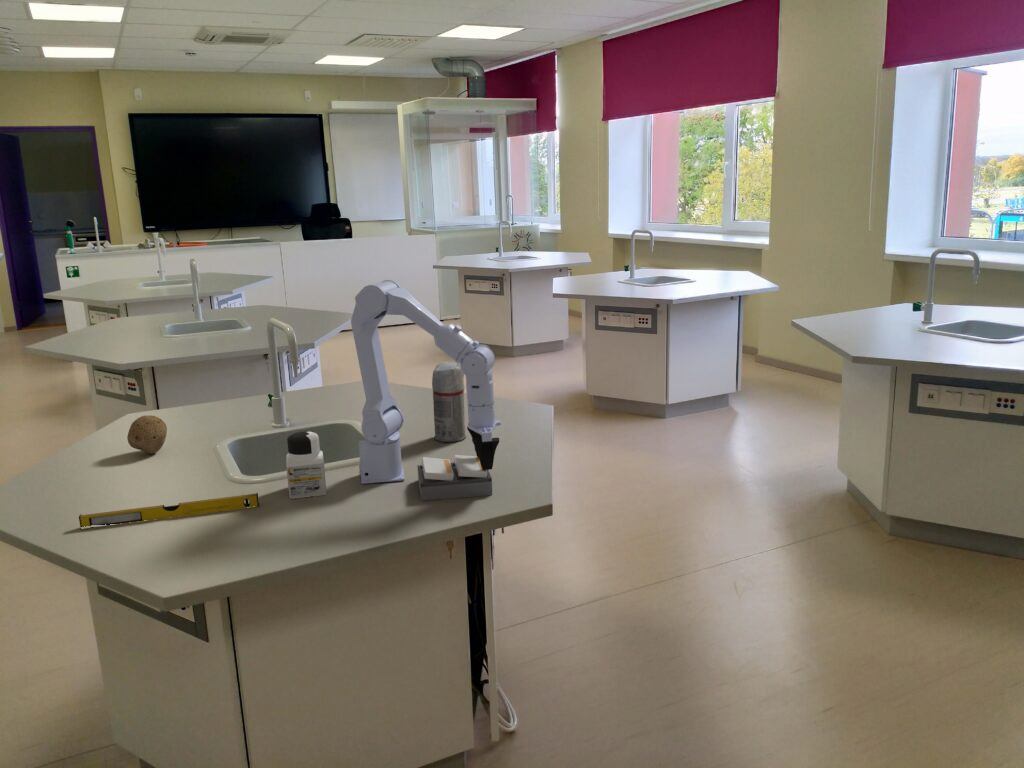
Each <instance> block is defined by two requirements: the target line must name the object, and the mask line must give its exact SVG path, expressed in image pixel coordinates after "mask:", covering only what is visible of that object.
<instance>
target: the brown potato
mask: <svg viewBox="0 0 1024 768" xmlns="http://www.w3.org/2000/svg"><path fill="white" fill-rule="evenodd" d="M167 428H168V427H167V424H166V423H165V421H164V420H163V419H162V418H160V417H159V416H156V415H151V414H150V415H149V414H147V415H142V416H140V417H137V418H136V419H135V420H133V422H132V423H131V425H130V427H129V429H128V433H127V437H126V438H127V442H128V444H129V446H130V447H131V448H133V449H136V450H139V451H142V452H144V453H146V454H148V455H153V454H156V453H158V452H159V451H160V450H161V449H162V448H163V446H164V445H165V442H166V439H167V438H166V437H167V433H168V429H167Z"/></svg>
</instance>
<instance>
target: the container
mask: <svg viewBox="0 0 1024 768" xmlns="http://www.w3.org/2000/svg"><path fill="white" fill-rule="evenodd" d="M286 442H287V451H288V453H287V454H286V457H285V458H286V459H285V460H286V461H285V462H286V466H285V468H286V477H287V486H288V487H287V488H288V497H289V499H290V500H293V499H295V498H296V499H303V498H312V497H311V496H313V497H320V496H326V495H327V493H328V492H327V484H326V483H327V481H326V472H325V471H326V469H325V461H324V452H323V451H322V450H321V448H320V447H321V446H320V437H319V435H318V433H316V432H312V431H306V430H305V431H298V432H295V433H292V434H290V435H289V436H288V437H287V439H286Z"/></svg>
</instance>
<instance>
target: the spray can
mask: <svg viewBox="0 0 1024 768" xmlns="http://www.w3.org/2000/svg"><path fill="white" fill-rule="evenodd" d="M431 377H432V378H431V379H432V380H431V385H432V387H431V388H432V398H433V399H432V401H433V423H434V440H436V441H438V442H442V443H455V442H460V441H462V440H464V439H465V438H467V435H466V424H465V423H466V422H465V420H466V417H465V412H466V411H465V382H464V377H465V374H464V373H463V372H462V370H461V367H460V364H459V363H458V362H456V361H441V362H439V363H438V364H437V365H436V366H435V368H434V370H433V371H432V376H431Z"/></svg>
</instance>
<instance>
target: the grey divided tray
mask: <svg viewBox="0 0 1024 768" xmlns="http://www.w3.org/2000/svg"><path fill="white" fill-rule="evenodd" d="M450 463H451V467H452V470H453V474H454V477H453V481H447V480H435V479H425V478H424V473H423V467H422V464H421V465H418V464H417V466H416V467H417V480H418V481H417V482H418V487H419V488H418V489H419V493H420V498H421V499H420V500H421V502H422V501H434V500H435V501H436V500H437V501H438V500H446V499H447V500H448V499H455V498H456V499H457V498H458V499H459V498H460V499H461V498H469V497H471V498H472V497H481V496H482V497H483V496H492V495H493V481H492V480H493V479H492V475H491V473H490V471H489V470H487V478H482V477H464V476H459V475H458V472H457V469H456V465H455V462H450Z"/></svg>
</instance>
